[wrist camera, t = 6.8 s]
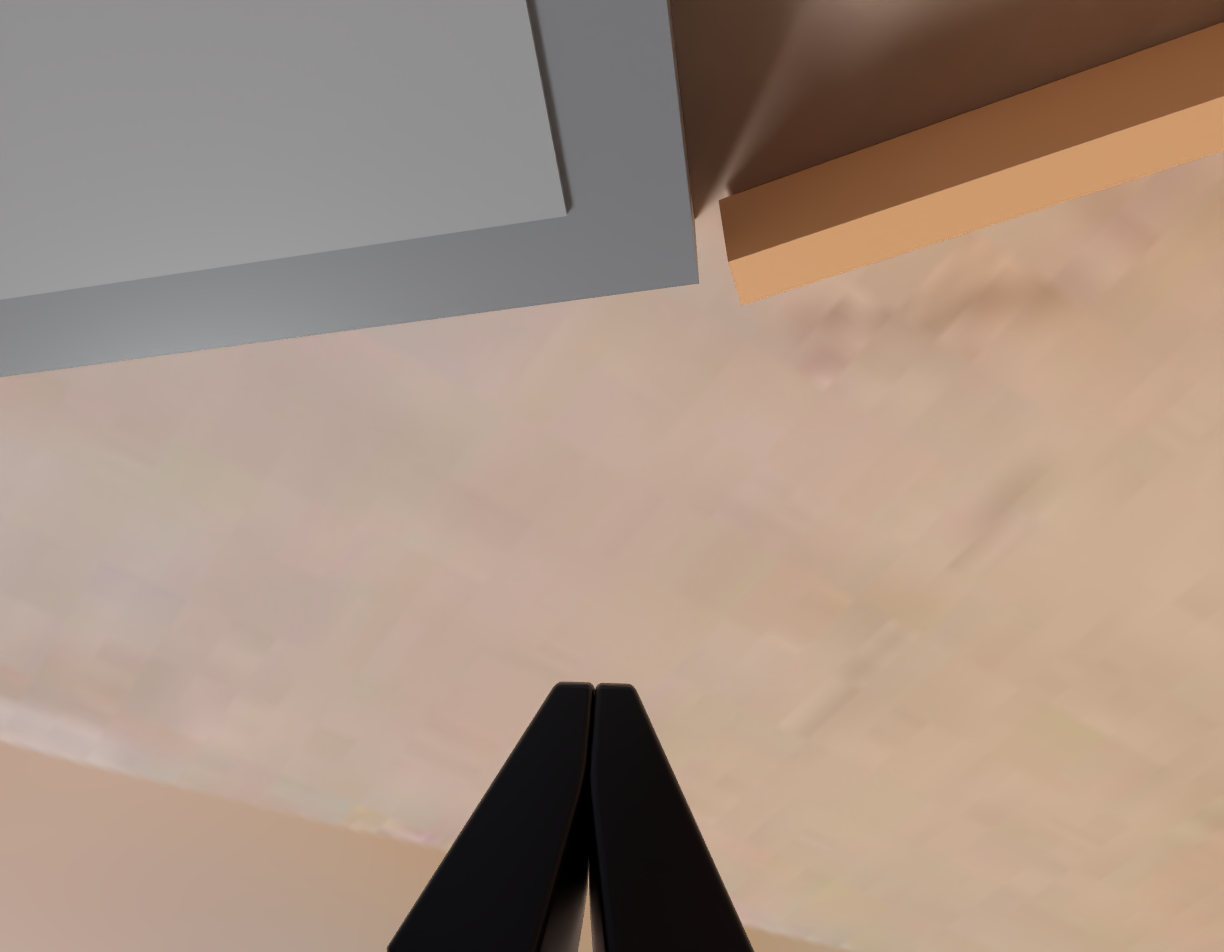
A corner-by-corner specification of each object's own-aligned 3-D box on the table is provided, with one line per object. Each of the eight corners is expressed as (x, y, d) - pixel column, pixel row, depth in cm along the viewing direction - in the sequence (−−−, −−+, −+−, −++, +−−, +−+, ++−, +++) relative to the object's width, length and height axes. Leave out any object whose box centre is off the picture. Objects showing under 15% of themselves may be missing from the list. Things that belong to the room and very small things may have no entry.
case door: (718, 200, 17) (728, 262, 14) (1414, -47, 14) (1608, -33, 11) (735, 255, 18) (748, 326, 15) (1407, 30, 15) (1589, 60, 12)
